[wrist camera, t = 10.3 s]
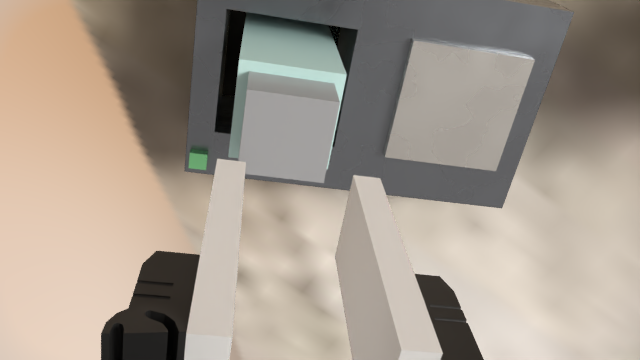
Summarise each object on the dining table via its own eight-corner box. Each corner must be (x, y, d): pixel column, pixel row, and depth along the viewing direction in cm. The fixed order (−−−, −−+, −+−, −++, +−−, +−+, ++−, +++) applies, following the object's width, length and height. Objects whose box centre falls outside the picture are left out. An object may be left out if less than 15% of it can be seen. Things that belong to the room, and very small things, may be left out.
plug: (247, 6, 29) (236, 76, 19) (326, 19, 30) (353, 93, 20) (238, 82, 31) (224, 181, 21) (313, 93, 31) (332, 193, 22)
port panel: (212, -66, 27) (200, -52, 23) (529, -10, 30) (578, 14, 25) (196, 129, 32) (183, 175, 27) (472, 164, 34) (504, 212, 30)
